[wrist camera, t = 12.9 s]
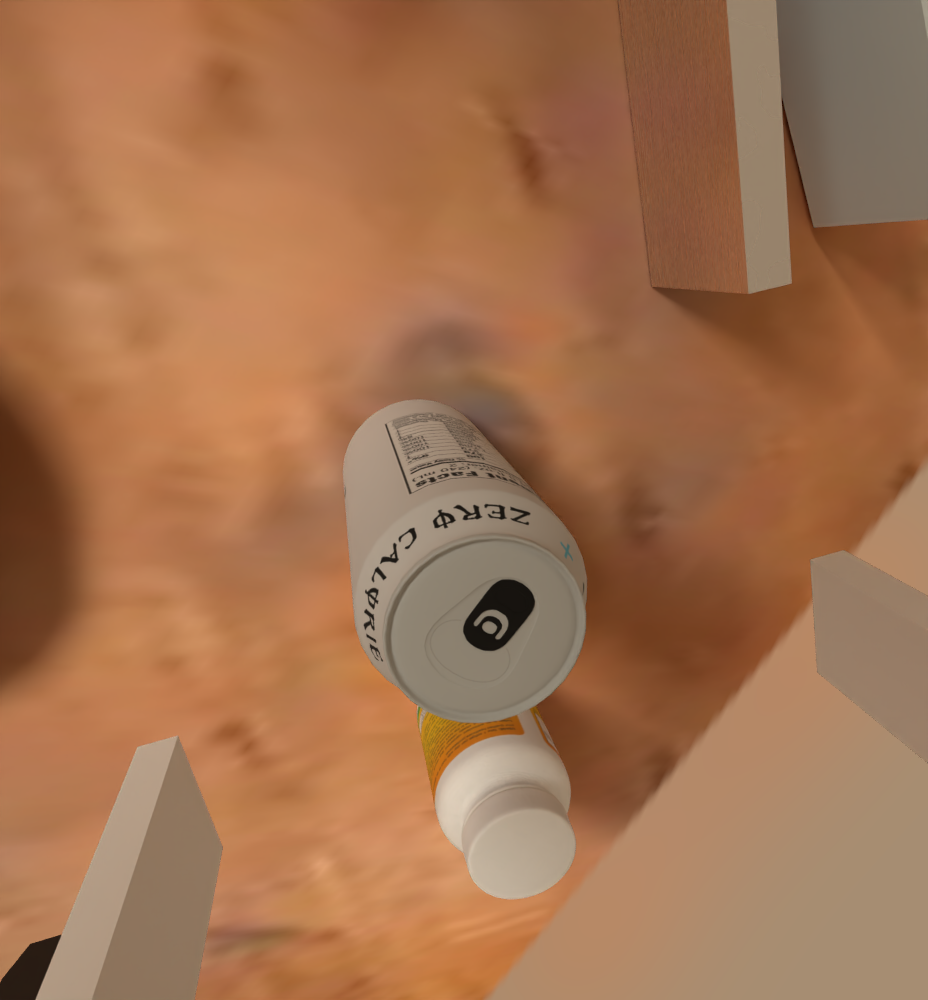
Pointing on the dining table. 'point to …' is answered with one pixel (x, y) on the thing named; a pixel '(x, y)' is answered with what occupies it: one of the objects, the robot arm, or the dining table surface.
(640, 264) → the dining table surface
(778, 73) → the hinge fixed
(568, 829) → the supplement bottle
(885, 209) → the hinge leaf
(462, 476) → the energy drink can
